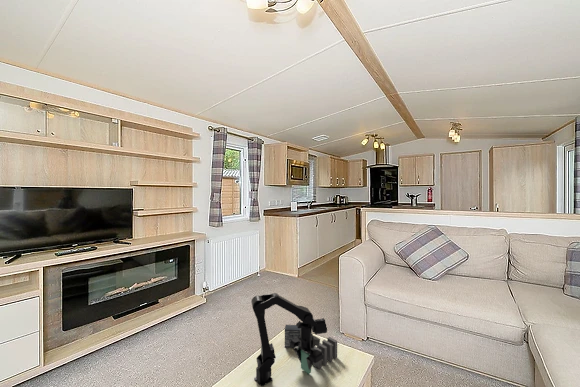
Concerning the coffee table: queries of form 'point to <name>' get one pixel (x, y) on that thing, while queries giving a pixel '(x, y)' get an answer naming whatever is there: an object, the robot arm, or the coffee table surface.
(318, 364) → the tile
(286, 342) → the small box
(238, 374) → the coffee table surface
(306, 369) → the tile
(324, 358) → the tile
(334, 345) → the tile
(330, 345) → the tile
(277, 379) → the coffee table surface
